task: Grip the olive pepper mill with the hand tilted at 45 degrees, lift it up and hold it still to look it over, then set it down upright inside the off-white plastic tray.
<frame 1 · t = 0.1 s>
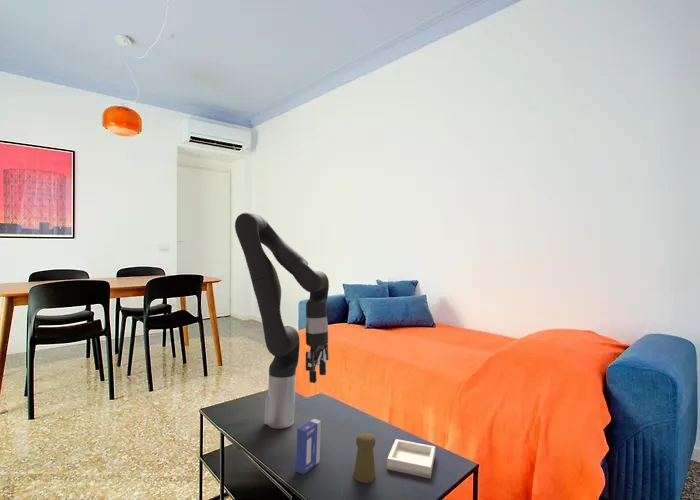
hand: (318, 378, 129), 17 cm above the table, tool pointing down, fingers open, 8 cm apart
walkman: (307, 467, 106), on the table
tray: (411, 462, 110), on the table
olive pepper mill: (364, 476, 103), on the table
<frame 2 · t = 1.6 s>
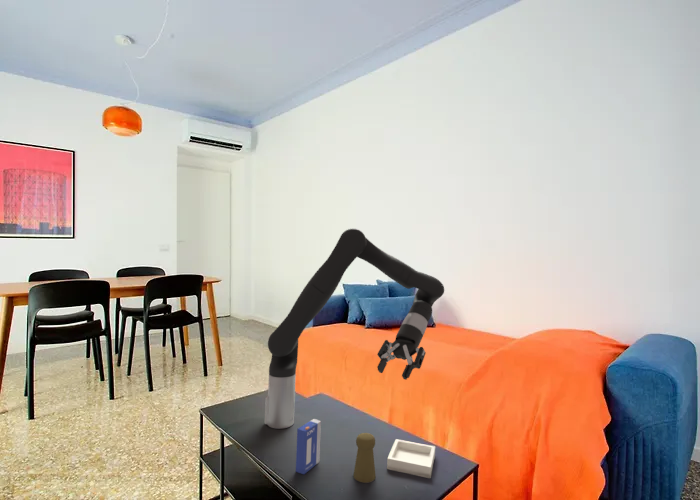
hand: (391, 374, 112), 25 cm above the table, tool tilted 45°, fingers open, 8 cm apart
nothing on the table moved.
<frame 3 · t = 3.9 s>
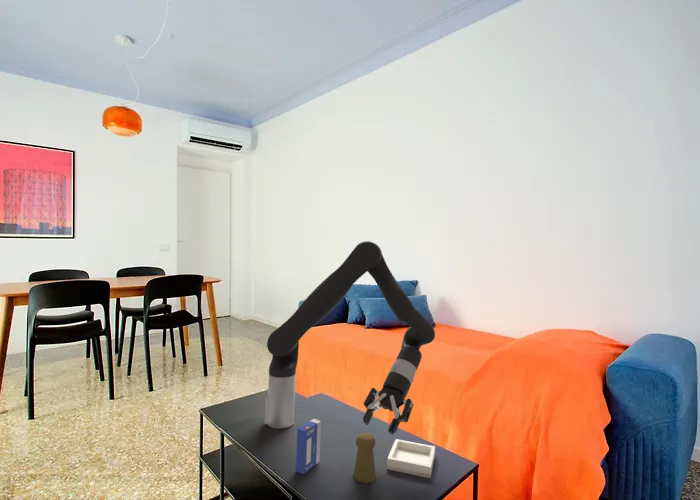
hand: (377, 428, 107), 11 cm above the table, tool tilted 45°, fingers open, 8 cm apart
nothing on the table moved.
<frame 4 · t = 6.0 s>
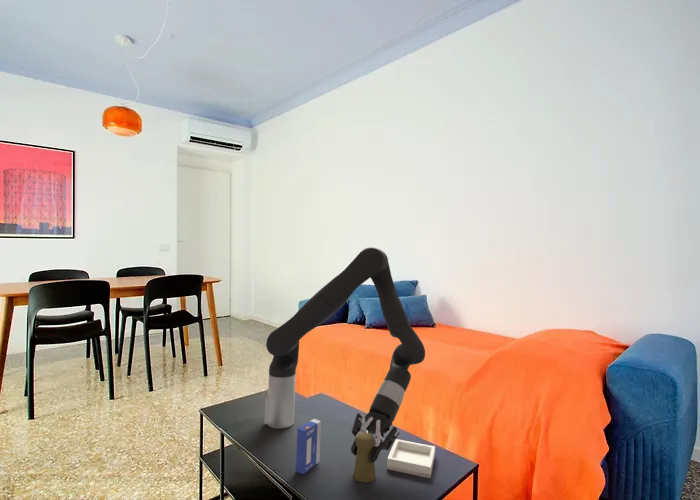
hand: (361, 457, 102), 5 cm above the table, tool tilted 45°, fingers closed on olive pepper mill, 5 cm apart
olive pepper mill: (364, 476, 103), on the table, touching gripper
everything else where it was.
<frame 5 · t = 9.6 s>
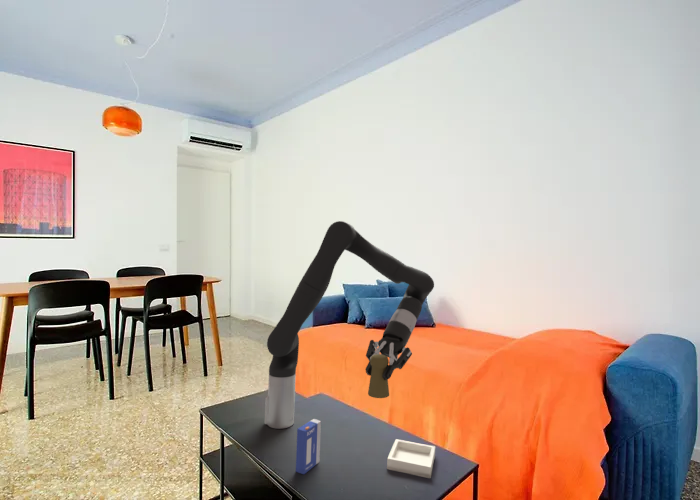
hand: (376, 376, 106), 26 cm above the table, tool tilted 45°, fingers closed on olive pepper mill, 5 cm apart
olive pepper mill: (378, 394, 107), point 20 cm above the table, touching gripper
everything else where it was.
when the fingers open (8 cm above the table, at t = 13.4 s): olive pepper mill drops 1 cm, resting on tray.
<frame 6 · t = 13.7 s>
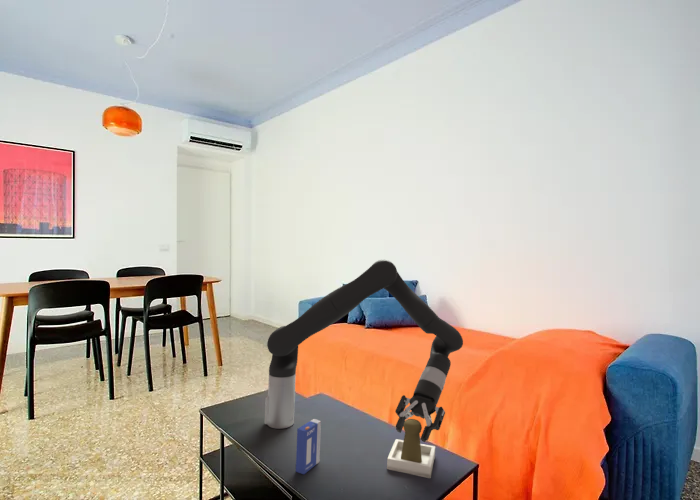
hand: (410, 435, 109), 8 cm above the table, tool tilted 45°, fingers open, 7 cm apart
olive pepper mill: (411, 459, 110), point 1 cm above the table, touching tray
everything else where it was.
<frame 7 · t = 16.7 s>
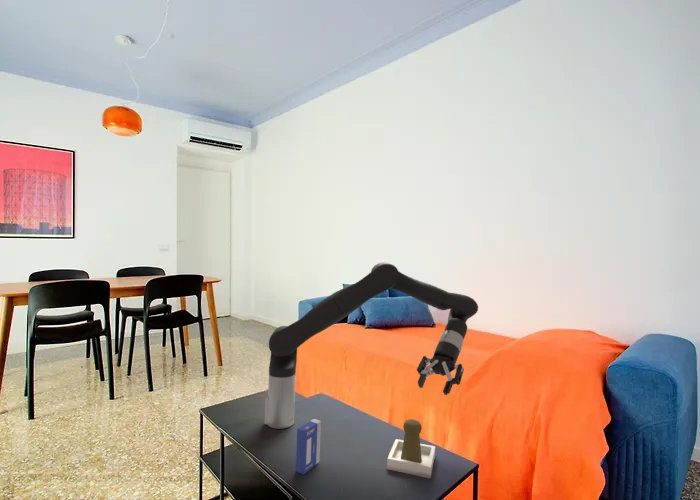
hand: (432, 390, 119), 18 cm above the table, tool tilted 45°, fingers open, 8 cm apart
nothing on the table moved.
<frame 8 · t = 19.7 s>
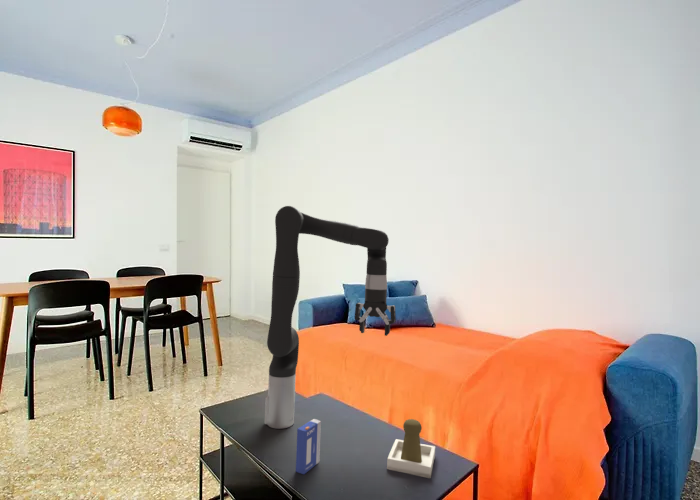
hand: (374, 334, 133), 32 cm above the table, tool pointing down, fingers open, 8 cm apart
nothing on the table moved.
at the end: olive pepper mill inside the target area on the tray (0.3 cm from its centre), point 0.8 cm above the tray's base; olive pepper mill tilted 0°; the gripper is holding nothing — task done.
